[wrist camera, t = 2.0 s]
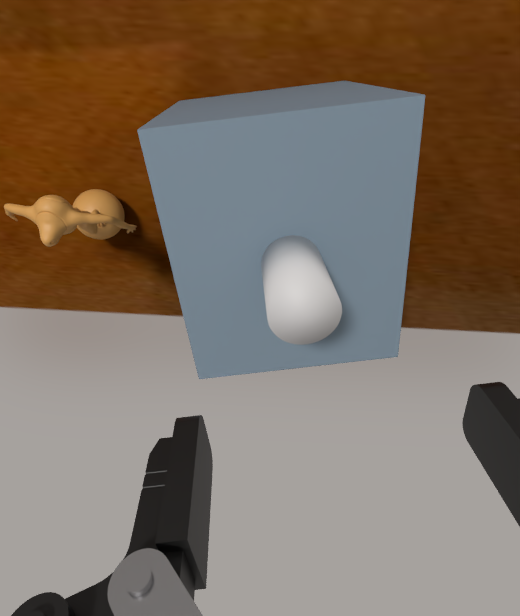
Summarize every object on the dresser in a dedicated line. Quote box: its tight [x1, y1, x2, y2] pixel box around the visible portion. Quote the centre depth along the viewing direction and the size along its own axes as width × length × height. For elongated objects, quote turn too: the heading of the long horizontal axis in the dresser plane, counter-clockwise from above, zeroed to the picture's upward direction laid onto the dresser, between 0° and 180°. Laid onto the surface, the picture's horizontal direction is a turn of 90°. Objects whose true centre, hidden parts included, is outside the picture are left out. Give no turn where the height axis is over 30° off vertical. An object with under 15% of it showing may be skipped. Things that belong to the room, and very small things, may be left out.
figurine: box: [4, 189, 137, 247], centre depth 28 cm, size 8×6×12 cm
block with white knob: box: [137, 81, 425, 379], centre depth 25 cm, size 13×15×20 cm
